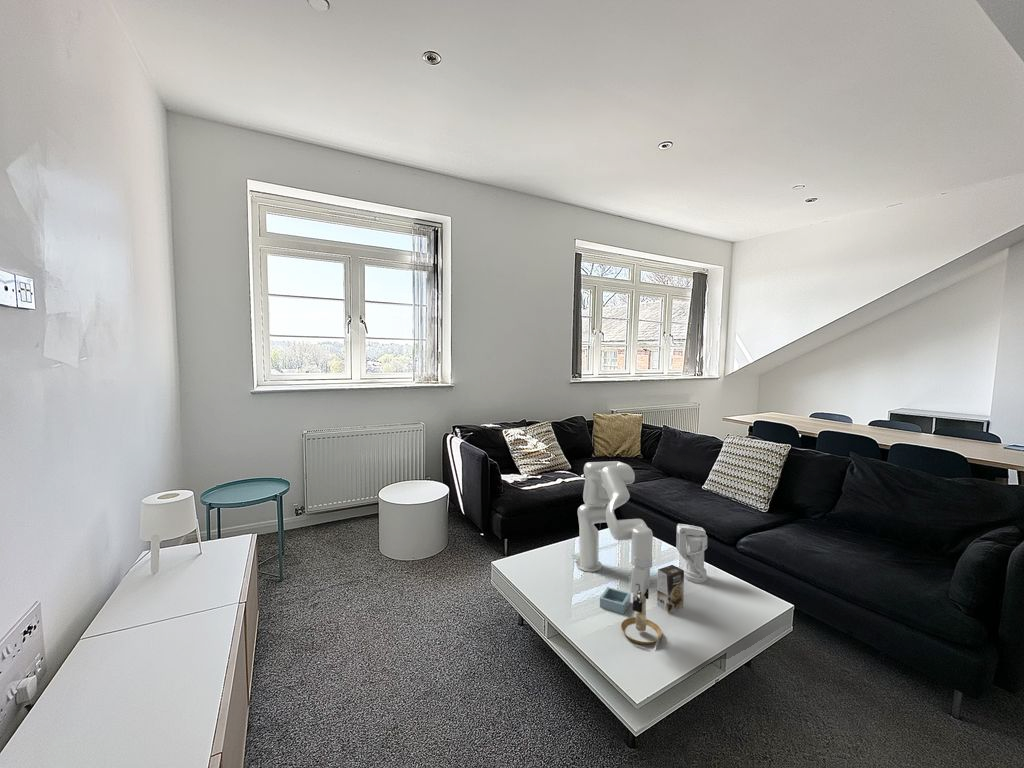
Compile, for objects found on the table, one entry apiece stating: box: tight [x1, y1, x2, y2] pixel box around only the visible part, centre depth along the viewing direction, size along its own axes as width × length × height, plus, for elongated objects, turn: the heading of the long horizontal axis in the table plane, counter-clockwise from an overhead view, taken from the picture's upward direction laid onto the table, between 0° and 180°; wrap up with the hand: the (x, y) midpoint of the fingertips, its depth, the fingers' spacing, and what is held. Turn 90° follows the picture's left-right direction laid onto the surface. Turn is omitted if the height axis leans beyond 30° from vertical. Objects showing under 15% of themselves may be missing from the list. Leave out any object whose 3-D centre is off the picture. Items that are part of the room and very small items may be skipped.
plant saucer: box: [620, 616, 663, 645], centre depth 157 cm, size 15×15×3 cm
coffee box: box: [656, 564, 685, 614], centre depth 174 cm, size 9×6×16 cm
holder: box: [599, 586, 632, 615], centre depth 175 cm, size 10×10×4 cm
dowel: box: [635, 595, 647, 632], centre depth 157 cm, size 4×4×12 cm
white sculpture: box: [676, 523, 708, 584], centre depth 197 cm, size 13×10×25 cm
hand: (640, 604), depth 156 cm, fingers open, 9 cm apart
